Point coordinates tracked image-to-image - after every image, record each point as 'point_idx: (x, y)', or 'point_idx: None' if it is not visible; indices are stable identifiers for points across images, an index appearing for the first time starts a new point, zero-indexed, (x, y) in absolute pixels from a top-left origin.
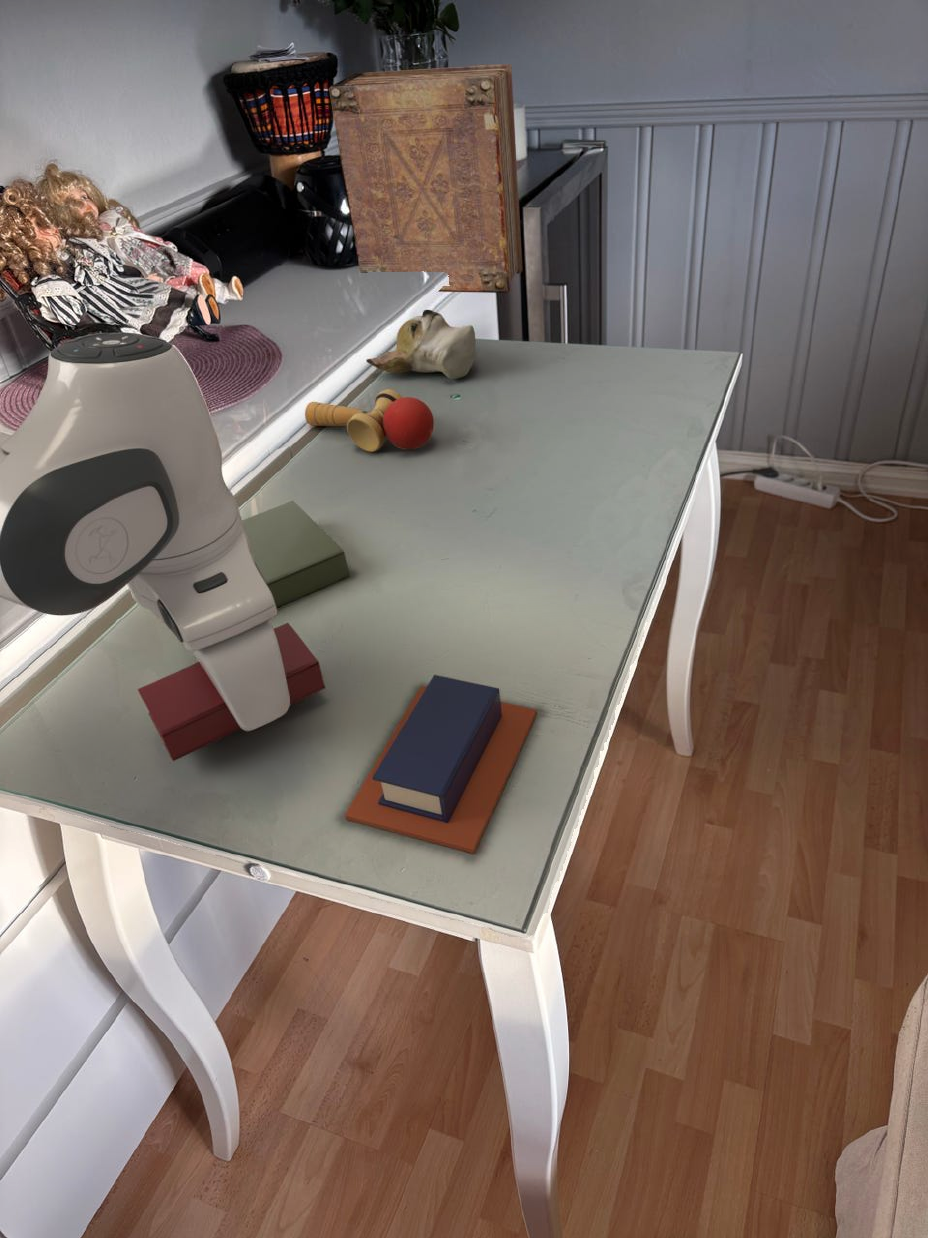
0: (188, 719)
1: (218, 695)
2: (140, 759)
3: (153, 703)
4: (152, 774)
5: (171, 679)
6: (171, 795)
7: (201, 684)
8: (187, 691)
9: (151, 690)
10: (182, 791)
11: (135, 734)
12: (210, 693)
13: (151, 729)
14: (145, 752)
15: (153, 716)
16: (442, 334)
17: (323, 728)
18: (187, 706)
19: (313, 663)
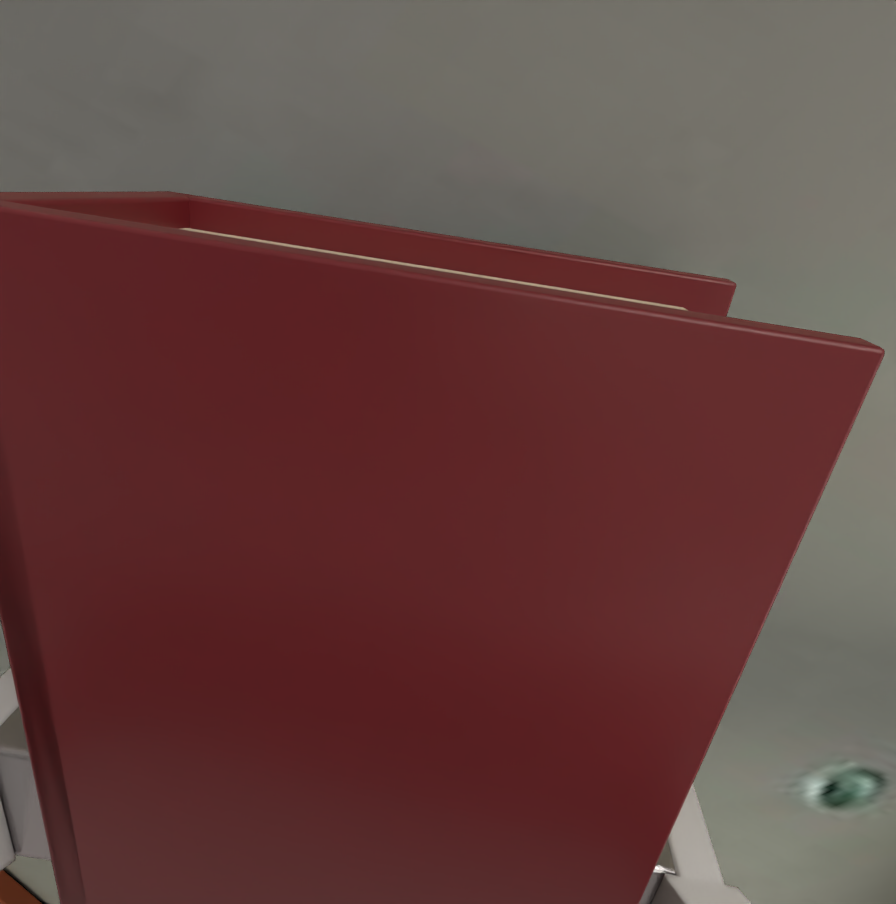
0: (10, 508)
1: (159, 781)
2: (541, 52)
3: (465, 374)
4: (358, 57)
5: (654, 671)
6: (119, 74)
7: (370, 776)
8: (371, 676)
9: (690, 462)
10: (115, 145)
11: (783, 136)
12: (213, 764)
13: (726, 243)
14: (573, 112)
15: (250, 267)
16: None
17: None
18: (188, 583)
19: None
